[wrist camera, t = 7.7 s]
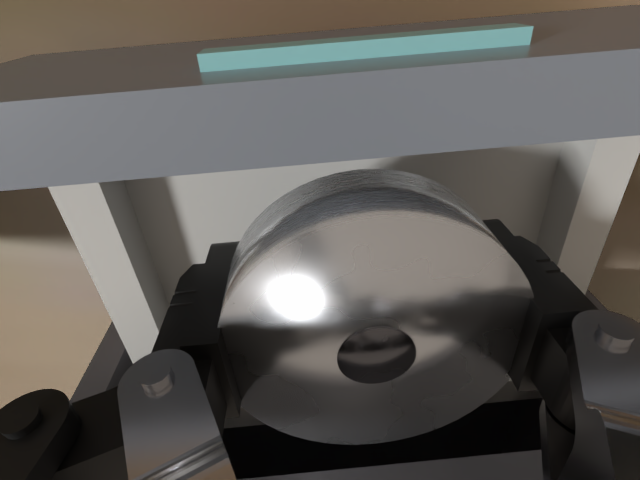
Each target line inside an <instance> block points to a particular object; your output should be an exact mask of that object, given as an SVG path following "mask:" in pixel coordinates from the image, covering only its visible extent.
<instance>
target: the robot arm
mask: <svg viewBox="0 0 640 480" xmlns="http://www.w3.org/2000/svg"><path fill="white" fill-rule="evenodd" d="M482 221H483V222H484V223H485V225H486V226H487V227H488V228H489V229H490V231H491V232H492V233H493V234H494V236H495V237H496V238H497V239H498V241H499V242H500V243H501V244H502V245H503V247H504V248H505V249H506V250H507V252H508V253H509V254H510V255H511V257H512V258H513V259H514V260H515V261H516V263H517V264H518V265H519V266H520V268H521V269H522V271H523V273H524V274H525V276H526V278H527V279H528V281H529V284H530V286H531V289H532V292H533V294H534V298H531V300H530V303H529V307H528V310H527V314H526V317H525V321H524V324H523V327H522V331H521V334H520V338H519V341H518V345H517V348H516V351H515V355H514V358H513V362H512V365H511V369H510V372H509V376H510V378H511V380H512V382H513V384H514V385H515V387H516V389H517V391H518V392H521V391H532V390H538V391H539V393H540V395H541V396H542V398H543V400H542V403H541V406H540V409H539V417H540V434H541V452H542V470H543V480H640V323H638V322H637V321H635V320H633V319H631V318H629V317H627V316H624V315H622V314H618V313H615V312H611V311H606V310H599V309H598V308H597V307H596V306H595V305H594V304H593V303H592V302H591V301H590V300H589V299H588V298H587V297H586V296H585V295H584V294H583V292H582V291H581V290H580V289H579V288H578V287H577V286H576V285H575V284H574V283H573V282H572V281H571V280H570V279H569V278H568V277H567V276H566V275H565V273H564V272H561V269H560V268H559V267H558V266H557V265H556V264H555V263H554V262H553V261H551V260H550V258H549V257H548V255H547V254H546V253H545V252H544V251H543V250H542V249H541V248H540V247H539V246H538V245H536V244H534V243H532V242H531V241H529V240H527V239H525V238H524V237H522V236H514V235H513V234H512V233H511V232H510V231H509V229H508V228H507V227H506V226H505V225H504V224H503V223H502V222H501V221H500V220H499V219H490V220H482ZM239 242H240V241H236V242H225V243H214V244H211V246H210V249H209V252H208V255H207V258H206V262H205V263H202V264H193V265H192V266H191V267H190V268H189V269H188V270H187V271H186V272H185V273H184V274H183V275H182V276H181V277H180V279H179V281H178V284H177V286H176V289H175V292H174V293H175V295H173V297H172V300H171V302H170V307H168V310H167V313H166V315H165V318H164V321H163V323H162V326H161V328H160V331H159V334H158V336H157V339H156V342H155V344H154V347H153V349H152V352H151V353H150V354H148V355H146V356H144V357H142V358H141V359H139V360H138V361H136V362H135V363H134V364H133V365H131V366H130V367H129V368H128V370H127V371H126V372H125V373H124V375H123V376H122V378H121V380H120V382H119V384H118V386H116V387H114V388H112V389H109V390H107V391H104V392H101V393H99V394H96V395H93V396H90V397H87V398H84V399H82V400H79V401H76V402H73V403H71V402H70V401H69V399H68V398H67V396H66V395H65V394H64V393H63V392H61V391H59V390H55V389H42V390H37V391H33V392H30V393H28V394H25V395H23V396H21V397H19V398H17V399H15V400H13V401H12V402H10V403H8V404H7V405H5V406H4V407H3V408H1V409H0V480H236V477H235V474H234V471H233V469H232V466H231V463H230V460H229V457H228V455H227V452H226V449H225V446H224V444H223V441H222V436H223V429H224V423H225V419H226V418H236V417H240V408H241V398H240V394H239V391H238V387H237V384H236V380H235V376H234V373H233V369H232V366H231V362H230V359H229V355H228V352H227V348H226V345H225V341H224V337H223V334H222V330H221V328H217V327H218V322H219V317H220V313H221V308H222V303H223V299H224V294H225V289H226V285H227V280H228V275H229V271H230V266H231V261H232V259H233V256H234V253H235V250H236V247H237V246H238V244H239Z"/></svg>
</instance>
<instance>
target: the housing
mask: <svg viewBox="0 0 640 480" xmlns="http://www.w3.org/2000/svg"><path fill="white" fill-rule="evenodd" d="M585 296H586V297H587V298H588V299H589V300H590V301H591V302H592V303H593V304H594V305H595V306H596V307H597V308H598V309H599V310H606V311H608V310H607V309H606V308H605V307H604V306H603V305H602V304H601V303H600V302H599V301H598V300H597V298H596V297H595V296H594V295H593V294H592V293H591V292H590V291H589V290H588V289H587V291H586V294H585ZM131 365H133V363H132V361H131V359H130V357H129V355H128V352H127V350H126V348H125V346H124V344H123V342H122V340H121V338H120V336H119V334H118V332H117V330H116V328H115V325H114V323H113V321H112V323H111V325H110V327H109V328H108V330H107V332H106V334H105V336H104V338H103V340H102V342H101V343H100V345H99V347H98V349H97V351H96V353H95V355H94V357H93V358H92V360H91V362H90V364H89V366H88V368H87V370H86V372H85V373H84V375H83V377H82V379H81V381H80V383H79V385H78V387H77V389H76V390H75V392H74V394H73V396H72V398H71V400H70V402H71V403H73V402H76V401H79V400H82V399H84V398H87V397H90V396H93V395H96V394H99V393H101V392H104V391H107V390H109V389H112V388H114V387H116V386H118V384H119V382H120V380H121V378H122V376H123V375H124V373H125V372H126V371H127V370H128V368H129V367H130V366H131ZM542 400H543V398H535V399H524V400H514V401H504V402H493V403H483V404H482V405H480V406H479V407H477V408H476V409H475V410H473V411H472V412H470V413H468V414H466V415H465V416H463V417H461V418H459V419H458V420H456V421H453V422H451V423H449V424H447V425H445V426H443V427H440V428H437V429H435V430H432V431H429V432H427V433H424V434H420V435H417V436H413V437H410V438H405V439H401V440H396V441H391V442H383V443H376V444H361V445H342V444H330V443H322V442H316V441H311V440H306V439H302V438H299V437H295V436H292V435H289V434H286V433H284V432H281V431H278V430H276V429H274V428H272V427H270V426H268V425H266V424H265V425H254V426H244V427H234V428H224V429H223V436H222V441H223V444H224V446H225V449H226V452H227V455H228V457H229V460H230V463H231V466H232V469H233V471H234V474H235V477H236V480H543V470H542V452H541V434H540V417H539V409H540V406H541V403H542Z"/></svg>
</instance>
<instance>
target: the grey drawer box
mask: <svg viewBox="0 0 640 480" xmlns="http://www.w3.org/2000/svg"><path fill="white" fill-rule="evenodd" d="M639 153H640V5H629V6H617V7H605V8H593V9H581V10H569V11H556V12H544V13H532V14H520V15H508V16H496V17H484V18H472V19H460V20H448V21H436V22H424V23H412V24H400V25H388V26H376V27H363V28H351V29H339V30H327V31H315V32H303V33H291V34H279V35H267V36H255V37H243V38H231V39H219V40H207V41H195V42H183V43H170V44H158V45H146V46H134V47H122V48H110V49H98V50H86V51H74V52H62V53H50V54H38V55H31V56H27V57H23V58H20V59H16V60H12V61H8V62H5V63H1V64H0V191H8V190H19V189H31V188H42V187H48V189H49V191H50V193H51V195H52V197H53V199H54V201H55V203H56V205H57V207H58V209H59V211H60V214H61V216H62V218H63V220H64V222H65V224H66V226H67V228H68V230H69V232H70V234H71V236H72V238H73V240H74V243H75V245H76V247H77V249H78V251H79V253H80V255H81V257H82V259H83V261H84V263H85V265H86V267H87V270H88V272H89V274H90V276H91V278H92V280H93V282H94V284H95V286H96V288H97V290H98V292H99V294H100V296H101V299H102V301H103V303H104V305H105V307H106V309H107V311H108V313H109V315H110V317H111V319H112V321H113V323H114V325H115V328H116V330H117V332H118V334H119V336H120V338H121V340H122V342H123V344H124V346H125V348H126V350H127V352H128V355H129V357H130V359H131V361H132V363H133V364H134V363H135V362H136V361H138V360H139V359H141V358H142V357H144V356H146V355H148V354H150V353H151V352H152V349H153V347H154V344H155V342H156V339H157V336H158V334H159V331H160V328H161V326H162V323H163V321H164V318H165V315H166V313H167V310H168V307H170V302H171V300H172V297H173V295H175V293H174V292H175V289H176V286H177V284H178V281H179V279H180V277H181V276H182V275H183V274H184V273H185V272H186V271H187V270H188V269H189V268H190V267H191V266H192V265H193V264H202V263H205V262H206V258H207V255H208V252H209V249H210V246H211V244H214V243H225V242H236V241H240V240H241V238H242V237H243V235H244V233H245V232H246V230H247V229H248V228H249V226H250V225H251V224H252V222H253V221H254V220H255V219H256V218H257V217H258V216H259V215H260V214H261V213H262V212H263V211H264V210H265V209H266V208H267V207H268V206H269V205H271V204H272V203H273V202H275V201H276V200H277V199H279V198H280V197H281V196H283V195H284V194H286V193H288V192H290V191H292V190H293V189H295V188H297V187H299V186H300V185H303V184H305V183H308V182H310V181H313V180H315V179H317V178H320V177H324V176H327V175H331V174H335V173H338V172H344V171H351V170H358V169H389V170H399V171H404V172H408V173H413V174H417V175H420V176H423V177H426V178H428V179H431V180H433V181H436V182H438V183H440V184H442V185H443V186H445V187H447V188H449V189H450V190H452V191H453V192H455V193H456V194H457V195H458V196H460V197H461V198H462V199H463V200H465V201H466V202H467V203H468V205H469V206H470V207H471V208H472V209H473V210H474V211H475V212H476V213H477V215H478V216H479V217H480V218H481V220H490V219H499V220H500V221H501V222H502V223H503V224H504V225H505V226H506V227H507V228H508V229H509V231H510V232H511V233H512V234H513V235H514V236H522V237H524V238H525V239H527V240H529V241H531V242H532V243H534V244H536V245H538V246H539V247H540V248H541V249H542V250H543V251H544V252H545V253H546V254H547V255H548V257H549V258H550V260H551V261H553V262H554V263H555V264H556V265H557V266H558V267H559V268H560V269H561V272H564V273H565V275H566V276H567V277H568V278H569V279H570V280H571V281H572V282H573V283H574V284H575V285H576V286H577V287H578V288H579V289H580V290H581V291H582V292H583V294H584V295H585V294H586V291H587V289H588V286H589V283H590V281H591V278H592V275H593V273H594V270H595V268H596V265H597V262H598V260H599V257H600V255H601V252H602V249H603V247H604V244H605V242H606V239H607V236H608V234H609V231H610V229H611V226H612V223H613V221H614V218H615V216H616V213H617V210H618V208H619V205H620V203H621V200H622V197H623V195H624V192H625V190H626V187H627V184H628V182H629V179H630V177H631V174H632V171H633V169H634V166H635V164H636V161H637V158H638V156H639ZM535 398H542V396H541V395H540V393H539V391H538V390H532V391H521V392H518V391H517V389H516V387H515V385H514V384H513V382H512V380H511V378H510V380H509V381H508V382H507V383H506V384H505V385H504V386H503V387H502V388H501V389H500V390H499V391H498V392H497V393H496V394H494V395H493V396H492V397H491V398H490V399H488V400H487V401H486V402H485V403H493V402H504V401H514V400H524V399H535ZM254 425H265V424H264V423H263V422H261V421H260V420H258V419H256V418H255V417H253V416H252V415H251V414H250V413H248V412H247V411H246V410H245V409H244V408H242V407H241V408H240V417H236V418H226V419H225V423H224V428H234V427H244V426H254Z"/></svg>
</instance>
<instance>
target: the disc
mask: <svg viewBox="0 0 640 480" xmlns="http://www.w3.org/2000/svg"><path fill="white" fill-rule="evenodd" d="M531 298H534V294H533V292H532V289H531V286H530V284H529V281H528V279H527V278H526V276H525V274H524V273H523V271H522V269H521V268H520V266H519V265H518V264H517V263H516V261H515V260H514V259H513V258H512V257H511V255H510V254H509V253H508V252H507V250H506V249H505V248H504V247H503V245H502V244H501V243H500V242H499V241H498V239H497V238H496V237H495V236H494V234H493V233H492V232H491V231H490V229H489V228H488V227H487V226H486V225H485V223H484V222H483V221H482V220H481V218H480V217H479V216H478V215H477V213H476V212H475V211H474V210H473V209H472V208H471V207H470V206H469V205H468V203H467V202H466V201H465V200H463V199H462V198H461V197H460V196H458V195H457V194H456V193H455V192H453V191H452V190H450V189H449V188H447V187H445V186H443V185H442V184H440V183H438V182H436V181H433V180H431V179H428V178H426V177H423V176H420V175H417V174H413V173H408V172H404V171H399V170H389V169H358V170H351V171H344V172H338V173H335V174H331V175H327V176H324V177H320V178H317V179H315V180H313V181H310V182H308V183H305V184H303V185H300V186H299V187H297V188H295V189H293V190H292V191H290V192H288V193H286V194H284V195H283V196H281V197H280V198H279V199H277V200H276V201H275V202H273V203H272V204H271V205H269V206H268V207H267V208H266V209H265V210H264V211H263V212H262V213H261V214H260V215H259V216H258V217H257V218H256V219H255V220H254V221H253V222H252V224H251V225H250V226H249V228H248V229H247V230H246V232H245V233H244V235H243V237H242V238H241V240H240V242H239V244H238V246H237V247H236V250H235V253H234V256H233V259H232V261H231V266H230V271H229V275H228V280H227V285H226V289H225V294H224V299H223V303H222V308H221V313H220V317H219V322H218V327H217V328H221V330H222V334H223V337H224V341H225V345H226V348H227V352H228V355H229V359H230V362H231V366H232V369H233V373H234V376H235V380H236V384H237V387H238V391H239V394H240V398H241V407H242V408H244V409H245V410H246V411H247V412H248V413H250V414H251V415H252V416H253V417H255V418H256V419H258V420H260V421H261V422H263V423H264V424H266V425H268V426H270V427H272V428H274V429H276V430H278V431H281V432H284V433H286V434H289V435H292V436H295V437H299V438H302V439H306V440H311V441H316V442H322V443H330V444H342V445H361V444H376V443H383V442H391V441H396V440H401V439H405V438H410V437H413V436H417V435H420V434H424V433H427V432H429V431H432V430H435V429H437V428H440V427H443V426H445V425H447V424H449V423H451V422H453V421H456V420H458V419H459V418H461V417H463V416H465V415H466V414H468V413H470V412H472V411H473V410H475V409H476V408H477V407H479V406H480V405H482V404H483V403H485V402H486V401H487V400H488V399H490V398H491V397H492V396H493V395H494V394H496V393H497V392H498V391H499V390H500V389H501V388H502V387H503V386H504V385H505V384H506V383H507V382H508V381H509V380H510V376H509V372H510V369H511V365H512V362H513V358H514V355H515V351H516V348H517V345H518V341H519V338H520V334H521V331H522V327H523V324H524V321H525V317H526V314H527V310H528V307H529V303H530V300H531Z"/></svg>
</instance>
